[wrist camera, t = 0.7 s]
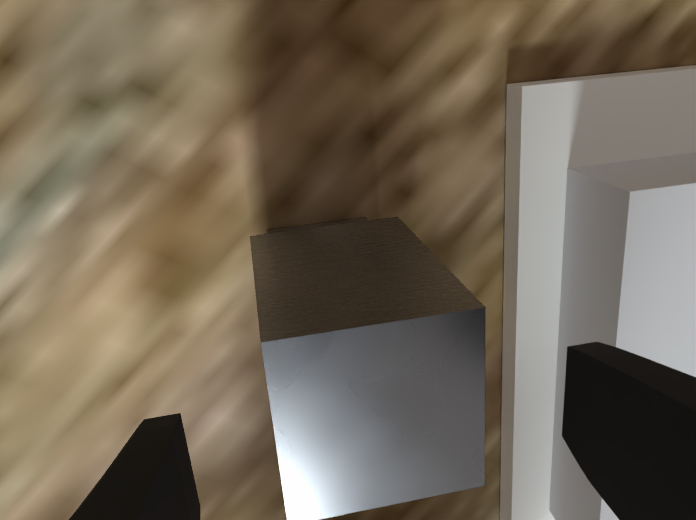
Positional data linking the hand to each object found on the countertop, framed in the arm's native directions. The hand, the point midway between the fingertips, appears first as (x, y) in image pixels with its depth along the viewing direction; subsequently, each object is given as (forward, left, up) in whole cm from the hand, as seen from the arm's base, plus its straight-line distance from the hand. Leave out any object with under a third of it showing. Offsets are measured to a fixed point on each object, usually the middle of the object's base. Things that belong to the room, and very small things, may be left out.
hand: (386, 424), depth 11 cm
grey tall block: (0, 0, -8) cm, 8 cm away
